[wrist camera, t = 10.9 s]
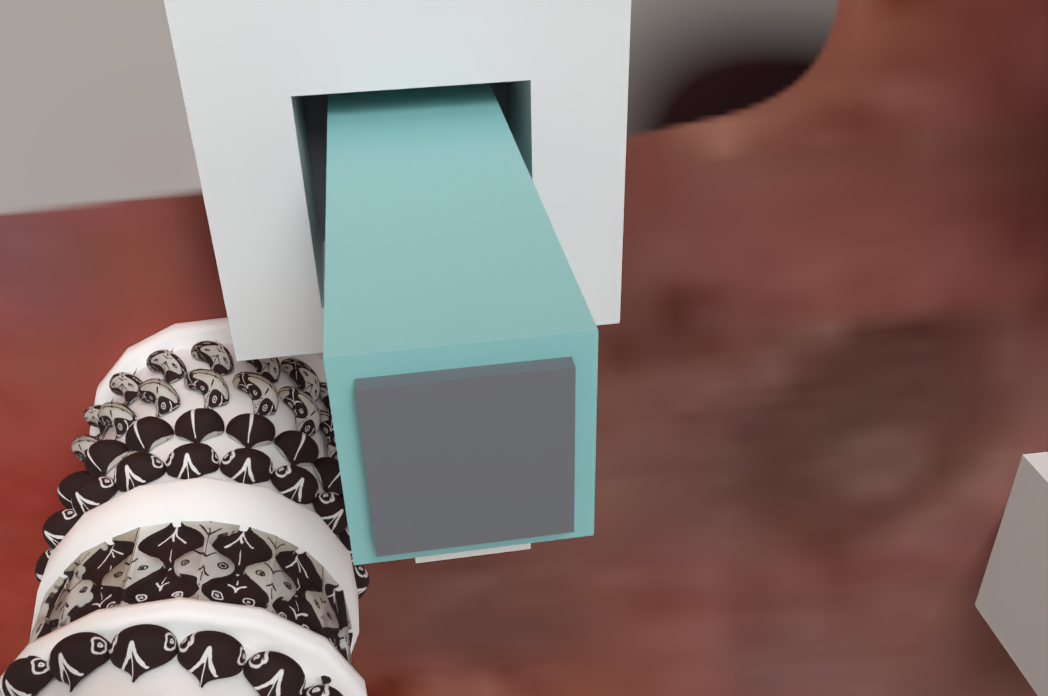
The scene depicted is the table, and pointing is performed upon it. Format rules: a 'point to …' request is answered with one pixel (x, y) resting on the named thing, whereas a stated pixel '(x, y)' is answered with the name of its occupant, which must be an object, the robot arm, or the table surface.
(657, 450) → the table surface
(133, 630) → the decorative candle
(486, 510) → the plug
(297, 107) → the white slotted block
